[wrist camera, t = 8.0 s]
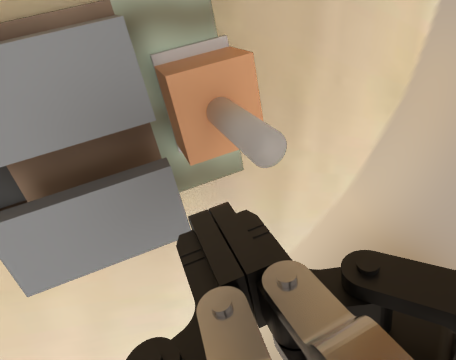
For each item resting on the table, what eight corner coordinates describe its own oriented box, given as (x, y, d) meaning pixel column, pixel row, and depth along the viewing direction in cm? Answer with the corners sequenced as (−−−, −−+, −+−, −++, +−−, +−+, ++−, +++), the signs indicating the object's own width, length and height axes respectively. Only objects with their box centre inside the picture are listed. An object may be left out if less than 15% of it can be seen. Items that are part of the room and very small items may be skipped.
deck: (-122, 50, 22) (-145, 54, 20) (197, -20, 26) (206, -23, 24) (5, 238, 30) (-2, 255, 28) (234, 160, 34) (243, 169, 32)
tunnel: (-60, 55, 21) (-132, 74, 14) (114, 15, 23) (123, 15, 17) (43, 228, 28) (27, 297, 21) (170, 185, 30) (192, 234, 24)
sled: (149, 54, 25) (191, 86, 14) (224, 35, 26) (316, 50, 15) (178, 150, 29) (228, 233, 18) (242, 130, 30) (324, 195, 19)
